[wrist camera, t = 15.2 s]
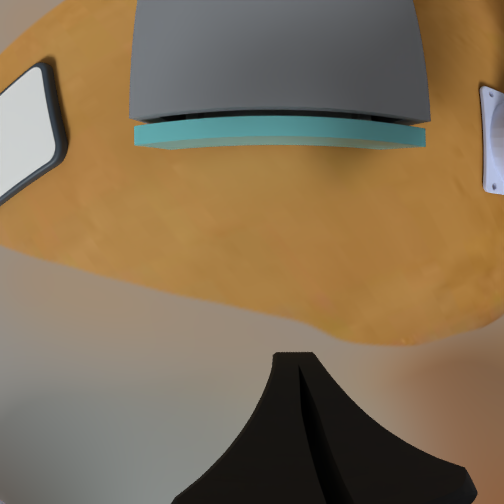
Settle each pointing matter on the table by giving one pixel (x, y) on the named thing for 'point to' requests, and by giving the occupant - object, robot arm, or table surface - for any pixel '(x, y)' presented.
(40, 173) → the smartphone
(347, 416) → the robot arm
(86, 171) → the table surface
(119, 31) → the table surface
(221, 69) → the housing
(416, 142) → the tray
